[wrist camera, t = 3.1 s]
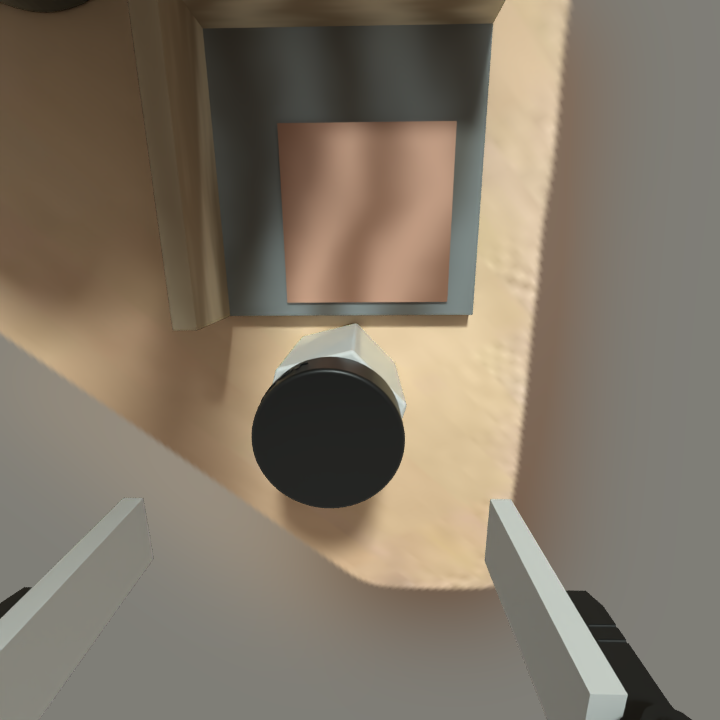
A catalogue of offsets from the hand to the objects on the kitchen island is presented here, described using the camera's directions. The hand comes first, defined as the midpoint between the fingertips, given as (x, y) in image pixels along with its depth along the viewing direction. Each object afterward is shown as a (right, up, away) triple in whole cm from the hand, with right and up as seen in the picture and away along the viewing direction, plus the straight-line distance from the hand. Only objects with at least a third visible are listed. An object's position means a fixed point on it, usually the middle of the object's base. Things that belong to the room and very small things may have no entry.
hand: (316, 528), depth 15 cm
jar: (0, +5, +17) cm, 18 cm away
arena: (0, +20, +13) cm, 24 cm away
